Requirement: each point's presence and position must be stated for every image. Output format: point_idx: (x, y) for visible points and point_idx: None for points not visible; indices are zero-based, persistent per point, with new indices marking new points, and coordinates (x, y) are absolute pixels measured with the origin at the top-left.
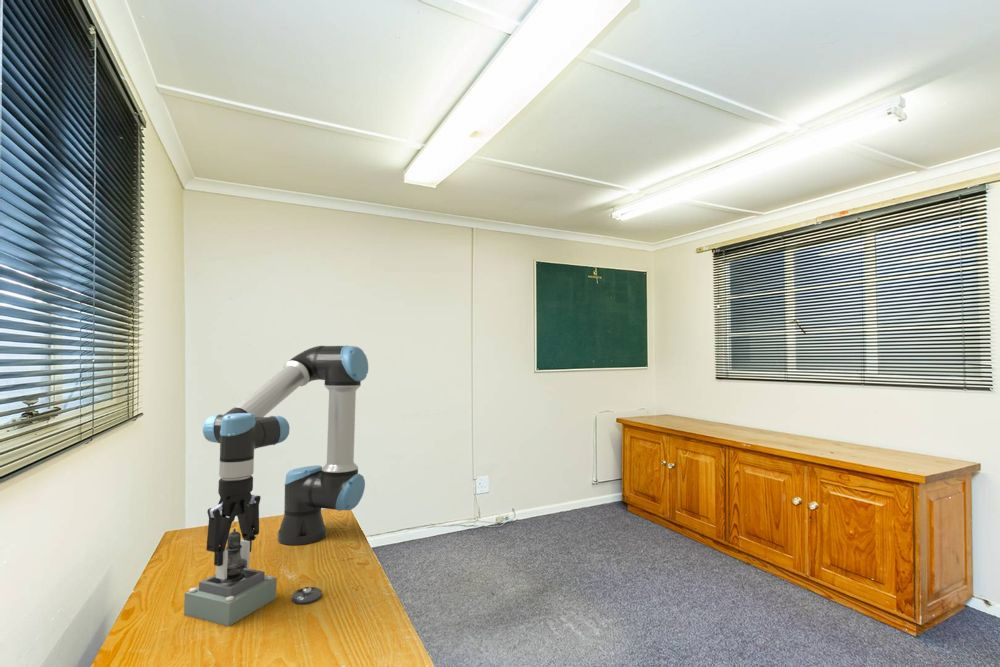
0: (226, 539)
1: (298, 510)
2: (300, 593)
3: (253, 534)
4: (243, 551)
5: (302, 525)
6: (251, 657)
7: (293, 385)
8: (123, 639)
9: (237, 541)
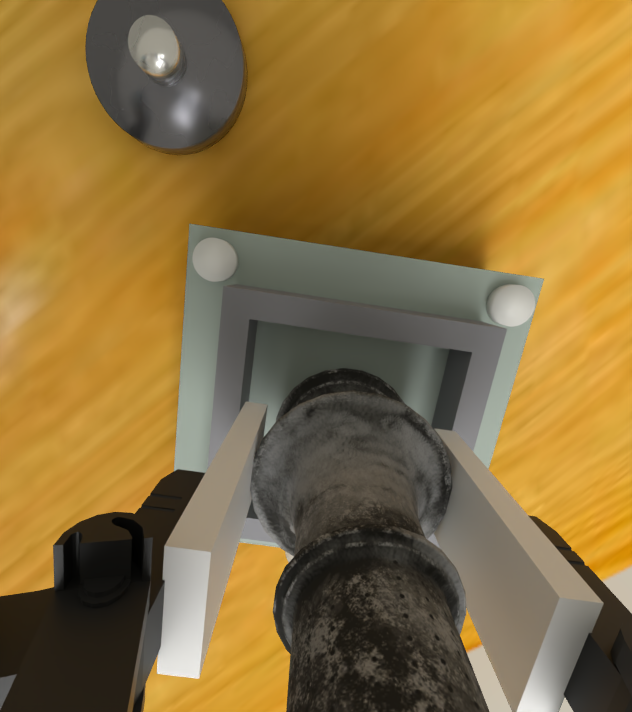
0: None
1: None
2: (176, 101)
3: (8, 628)
4: (236, 516)
5: None
6: None
7: None
8: (596, 562)
9: (431, 653)
